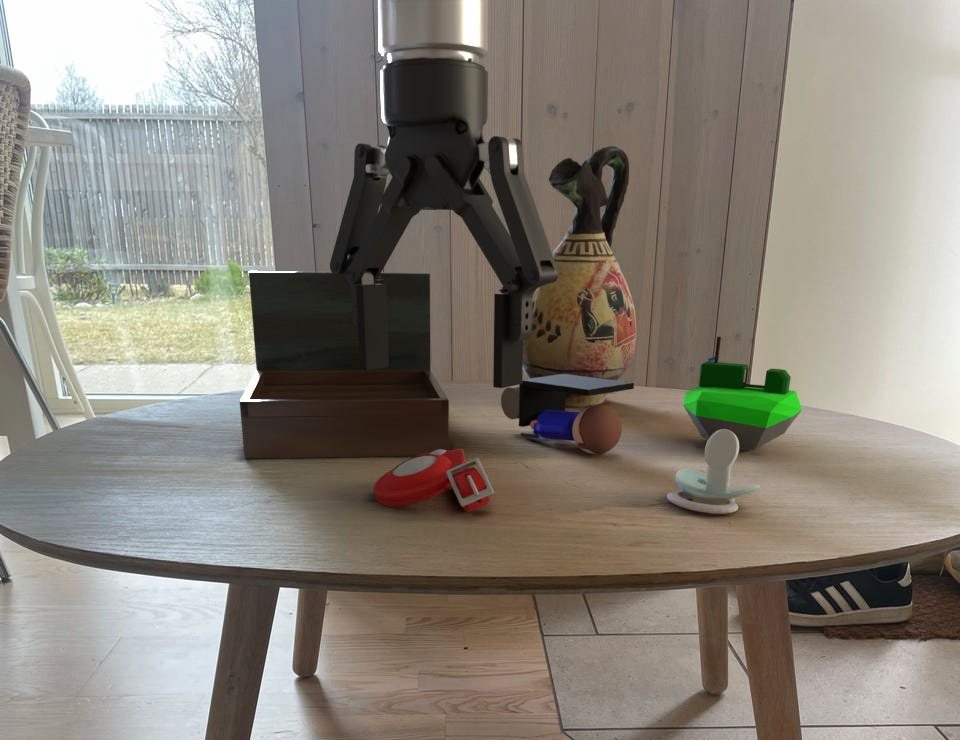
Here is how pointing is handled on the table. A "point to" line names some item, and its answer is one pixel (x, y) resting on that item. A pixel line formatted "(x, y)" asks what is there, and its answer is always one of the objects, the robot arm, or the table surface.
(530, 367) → the ceramic jug
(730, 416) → the toy tugboat
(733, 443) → the pacifier
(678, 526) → the table surface
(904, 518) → the table surface
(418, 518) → the table surface
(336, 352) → the open wooden box
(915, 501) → the table surface
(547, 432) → the figurine character
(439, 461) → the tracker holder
